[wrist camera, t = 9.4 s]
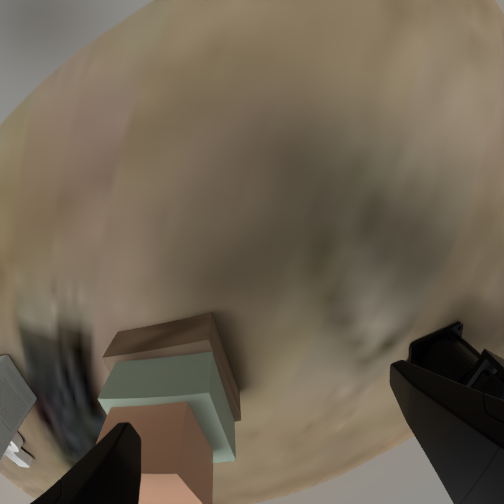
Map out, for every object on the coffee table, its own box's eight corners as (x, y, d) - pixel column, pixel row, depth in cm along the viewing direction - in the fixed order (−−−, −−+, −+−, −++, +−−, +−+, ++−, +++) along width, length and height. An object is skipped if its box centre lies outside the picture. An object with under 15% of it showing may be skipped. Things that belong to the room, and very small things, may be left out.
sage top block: (212, 351, 18) (209, 392, 15) (234, 421, 20) (235, 460, 17) (115, 361, 18) (97, 398, 15) (150, 427, 20) (141, 464, 17)
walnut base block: (211, 310, 22) (208, 339, 18) (239, 388, 24) (241, 420, 20) (118, 330, 22) (102, 357, 18) (155, 400, 24) (147, 431, 21)
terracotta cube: (186, 401, 15) (176, 473, 10) (213, 450, 16) (212, 513, 11) (110, 407, 15) (86, 469, 10) (144, 454, 16) (132, 511, 11)
